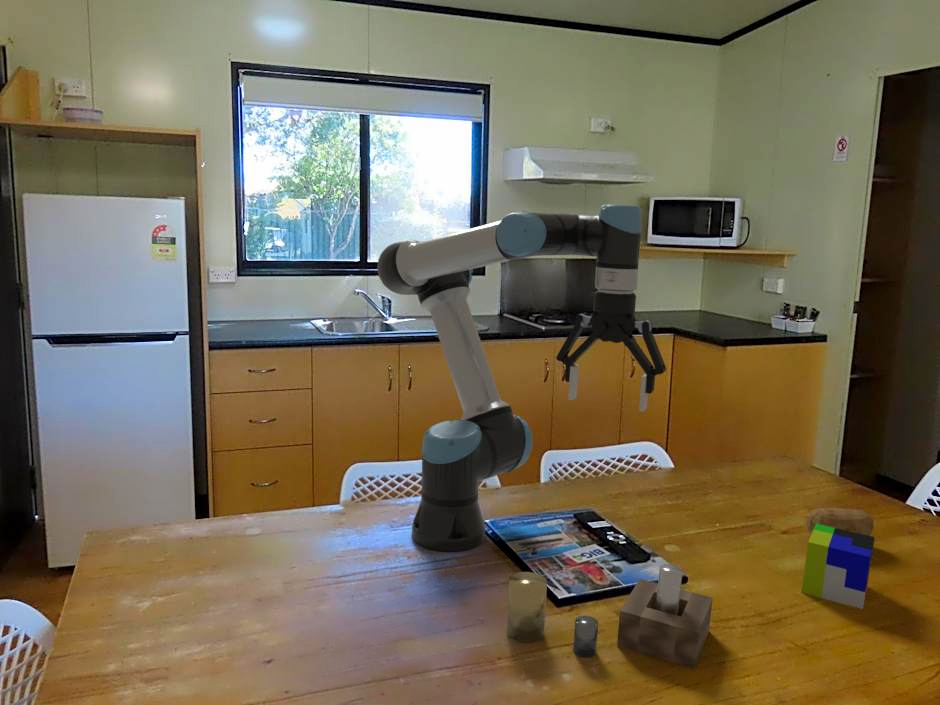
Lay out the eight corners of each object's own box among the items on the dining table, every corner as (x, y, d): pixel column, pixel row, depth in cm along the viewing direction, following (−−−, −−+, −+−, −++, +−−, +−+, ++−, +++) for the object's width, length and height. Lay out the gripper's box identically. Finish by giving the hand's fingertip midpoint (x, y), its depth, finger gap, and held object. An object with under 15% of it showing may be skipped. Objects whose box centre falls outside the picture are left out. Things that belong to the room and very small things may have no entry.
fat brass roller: (500, 636, 118) (503, 584, 117) (515, 618, 124) (518, 568, 122) (535, 647, 116) (538, 594, 114) (549, 629, 121) (552, 577, 119)
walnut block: (617, 645, 117) (619, 610, 116) (637, 611, 127) (639, 578, 126) (694, 669, 112) (698, 632, 110) (709, 631, 122) (712, 597, 121)
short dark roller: (569, 653, 114) (572, 623, 114) (577, 642, 118) (579, 613, 117) (591, 660, 113) (594, 630, 112) (598, 648, 116) (601, 619, 115)
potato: (883, 554, 153) (889, 518, 152) (820, 556, 151) (825, 519, 150) (854, 534, 163) (859, 499, 161) (794, 535, 161) (798, 500, 159)
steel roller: (650, 640, 119) (657, 571, 117) (656, 629, 122) (662, 562, 120) (673, 646, 117) (679, 576, 115) (677, 636, 120) (684, 567, 118)
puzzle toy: (862, 609, 131) (870, 557, 129) (801, 592, 136) (808, 542, 134) (867, 586, 139) (874, 537, 138) (809, 571, 145) (815, 523, 143)
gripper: (543, 287, 137) (537, 398, 141) (680, 299, 126) (669, 419, 130) (558, 284, 144) (551, 390, 148) (689, 295, 133) (678, 410, 137)
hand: (606, 404), depth 139 cm, fingers open, 13 cm apart
